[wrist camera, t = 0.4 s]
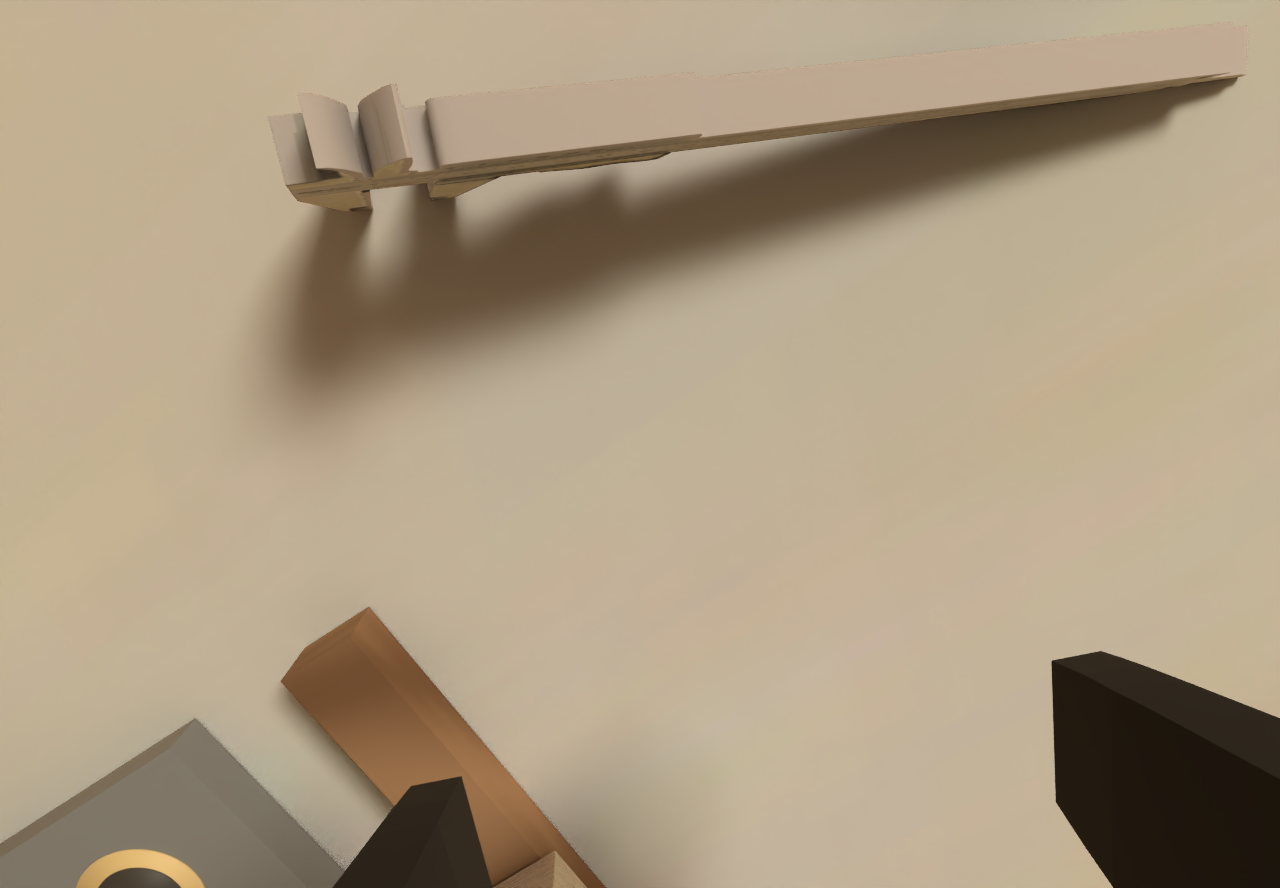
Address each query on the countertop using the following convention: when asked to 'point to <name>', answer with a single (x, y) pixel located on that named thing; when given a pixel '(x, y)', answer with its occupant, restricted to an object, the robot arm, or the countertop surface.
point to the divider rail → (419, 740)
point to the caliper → (711, 110)
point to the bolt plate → (169, 829)
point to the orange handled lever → (544, 875)
